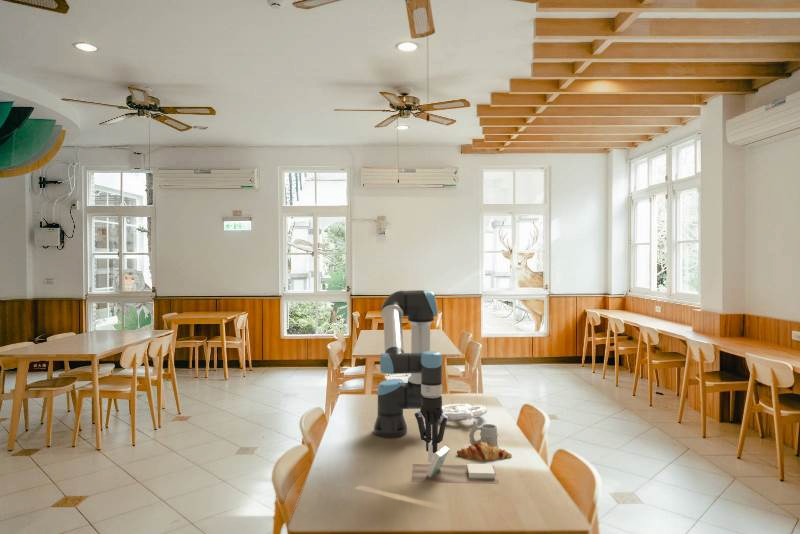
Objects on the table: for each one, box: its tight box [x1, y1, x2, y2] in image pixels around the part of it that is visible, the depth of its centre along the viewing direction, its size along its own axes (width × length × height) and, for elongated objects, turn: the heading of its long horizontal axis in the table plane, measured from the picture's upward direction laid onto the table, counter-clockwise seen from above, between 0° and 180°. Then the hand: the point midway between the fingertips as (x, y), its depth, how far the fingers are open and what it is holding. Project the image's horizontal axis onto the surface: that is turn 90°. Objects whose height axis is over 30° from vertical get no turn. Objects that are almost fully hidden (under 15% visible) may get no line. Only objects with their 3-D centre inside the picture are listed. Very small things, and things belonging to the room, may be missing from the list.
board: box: [411, 463, 500, 485], centre depth 177 cm, size 15×30×1 cm, turn 87°
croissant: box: [456, 442, 513, 462], centre depth 193 cm, size 21×10×8 cm, turn 87°
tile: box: [426, 445, 450, 477], centre depth 177 cm, size 8×2×9 cm, turn 152°
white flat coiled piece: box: [440, 402, 488, 421], centre depth 244 cm, size 28×24×6 cm
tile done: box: [466, 463, 496, 479], centre depth 177 cm, size 8×9×2 cm
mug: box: [468, 420, 500, 448], centre depth 202 cm, size 8×12×12 cm, turn 84°
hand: (431, 460), depth 177 cm, fingers closed
